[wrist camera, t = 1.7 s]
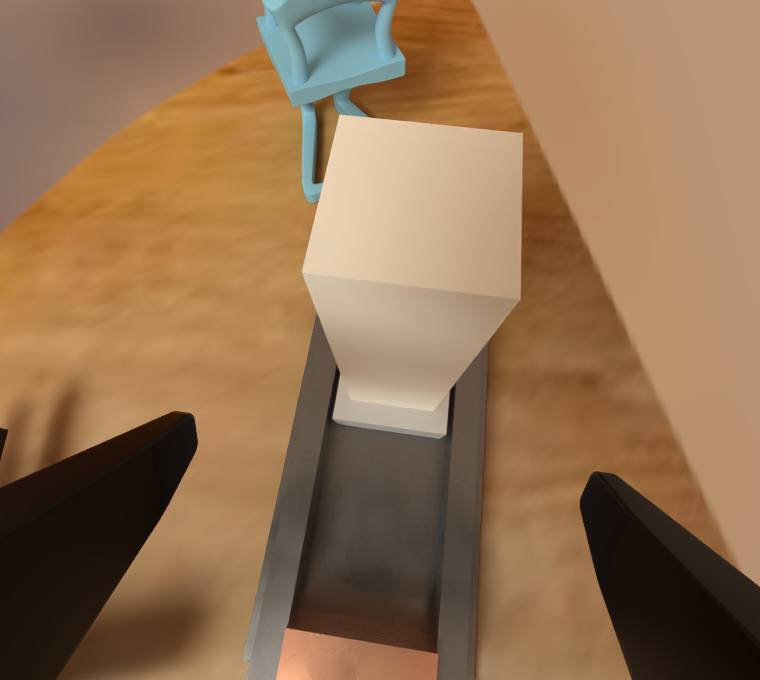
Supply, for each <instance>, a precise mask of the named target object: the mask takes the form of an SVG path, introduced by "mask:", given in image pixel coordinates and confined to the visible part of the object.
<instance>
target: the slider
mask: <svg viewBox="0 0 760 680" xmlns="http://www.w3.org/2000/svg"><path fill="white" fill-rule="evenodd" d="M522 164H523V133H515V132H506V131H496V130H486V129H476V128H466V127H456V126H447V125H437V124H427V123H417V122H407V121H398V120H388V119H378V118H368V117H358V116H348V115H339V119H338V124H337V128H336V132H335V136H334V140H333V145H332V149H331V153H330V157H329V161H328V165H327V170H326V174H325V178H324V182H323V186H322V190H321V195H320V199H319V203H318V207H317V211H316V216H315V220H314V224H313V228H312V232H311V236H310V241H309V245H308V249H307V253H306V257H305V262H304V266H303V270H302V274H303V277H304V280H305V282H306V285H307V287H308V290H309V293H310V295H311V298H312V301H313V303H314V306H315V308H316V311H317V314H318V316H319V319H320V321H321V324H322V327H323V329H324V332H325V335H326V337H327V340H328V342H329V345H330V348H331V350H332V353H333V355H334V358H335V361H336V363H337V366H338V368H339V371H340V379H339V385H338V390H337V396H336V401H335V407H334V412H333V418H332V419H333V420H334V421H335V422H336V424H339V425H346V426H353V427H361V428H368V429H375V430H382V431H389V432H396V433H403V434H410V435H417V436H424V437H431V438H438V439H440V438H442V437H443V436H445V435H446V432H447V419H448V406H449V393H450V389H451V388H452V387H453V385H454V384H455V383H456V382H457V380H458V379H459V378H460V376H461V375H462V374H463V373H464V371H465V370H466V369H467V367H468V366H469V365H470V364H471V362H472V361H473V360H474V359H475V357H476V356H477V355H478V353H479V352H480V351H481V350H482V348H483V347H484V346H485V344H486V343H487V342H488V341H489V339H490V338H491V337H492V336H493V334H494V333H495V332H496V330H497V329H498V328H499V327H500V325H501V324H502V323H503V321H504V320H505V319H506V318H507V316H508V315H509V314H510V313H511V311H512V310H513V309H514V307H515V306H516V305H517V304H518V302H519V301H520V300H521V237H522Z"/></svg>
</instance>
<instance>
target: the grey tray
mask: <svg viewBox="0 0 760 680" xmlns="http://www.w3.org/2000/svg"><path fill="white" fill-rule="evenodd" d="M488 348H489V341H488V342H487V343H486V344H485V346H484V347H483V348H482V350H481V351H480V352H479V353H478V355H477V356H476V357H475V359H474V360H473V361H472V362H471V364H470V365H469V366H468V367H467V369H466V370H465V371H464V373H463V374H462V375H461V376H460V378H459V379H458V380H457V382H456V383H455V384H454V385H453V387H452V388H451V389H450V393H449V406H448V419H447V432H446V435H445V436H443V437H442V438H440V439H438V438H431V437H424V436H417V435H410V434H403V433H396V432H389V431H382V430H375V429H368V428H361V427H353V426H346V425H339V424H336V422H335V421H334V420H333V419H332V418H333V412H334V407H335V401H336V396H337V390H338V385H339V379H340V371H339V368H338V366H337V363H336V361H335V358H334V355H333V353H332V350H331V348H330V345H329V342H328V340H327V337H326V335H325V332H324V329H323V327H322V324H321V321H320V319H319V316H318V314H317V315H316V320H315V324H314V329H313V334H312V338H311V343H310V348H309V352H308V357H307V362H306V366H305V371H304V375H303V380H302V385H301V389H300V394H299V399H298V403H297V408H296V413H295V417H294V422H293V427H292V431H291V436H290V441H289V445H288V450H287V455H286V459H285V464H284V469H283V473H282V478H281V483H280V487H279V492H278V497H277V501H276V506H275V510H274V515H273V520H272V524H271V529H270V534H269V538H268V543H267V548H266V552H265V557H264V562H263V566H262V571H261V576H260V580H259V585H258V590H257V594H256V599H255V604H254V608H253V613H252V618H251V622H250V627H249V631H248V636H247V641H246V645H245V650H244V655H243V659H242V660H245V661H250V664H249V669H248V674H247V679H246V680H474V667H475V645H476V622H477V599H478V576H479V553H480V530H481V508H482V485H483V462H484V439H485V416H486V393H487V371H488Z"/></svg>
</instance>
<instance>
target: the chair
mask: <svg viewBox="0 0 760 680" xmlns="http://www.w3.org/2000/svg"><path fill="white" fill-rule="evenodd" d="M369 1H376V2H383V4H382V6H381V8H380V11H379V14H378V17H377V15H376V13H375V12H374V10H373V8H372V6H371V4H370V3H369ZM262 2H263V3H264V6H265V16H262V17H259V18H256V20H257V24H258V28H259V31H260V35H261V37H262V39H263V42H264V44H265V46H266V49H267V51H268V54H269V56H270V58H271V60H272V63H273V65H274V67H275V69H276V70H277V72H278V74H279V76H280V78H281V80H282V83H283V85H284V87H285V90H286V92H287V94H288V96H289V99H290V101H291V103H292V105H293V107H294V108H295V107H298V106H300V107H301V112H302V122H303V145H302V183H303V189H304V193H305V197H306V200H307V201H308V202H310V203H315V202H318V201H319V199H320V195H321V190H322V186H323V182H322V183H319V184H315V169H316V152H317V120H316V114H315V108H314V104H313V103H312V102H315V101H318V100H320V99H323V98H325V97H328V96H330V95H332V94H334V95H333V98H334V107H335V109H336V111H337V112H338V113H339V114H340V115H348V116H358V117H368V116H367V115H366V114H365V113H364V112H362V111H361V110H360V109H359V108H358V107H357V106H356V105H355V104H354V103H353V102H352V101H351V100H350V99H349V95H350V93H351V91H352V89H353V88H354V87H357V86H361V85H366V84H373V83H379V82H384V81H388V80H391V79H395V78H398V77H402V76H405V64H406V59H405V57H404V56H403V54H402V52H401V51H400V49H399V48H398V46H397V45H396V43H395V42H394V41H393V39H392V37H391V22H392V17H393V13H394V10H395V7H396V4H397V0H262ZM368 118H369V117H368Z"/></svg>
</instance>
